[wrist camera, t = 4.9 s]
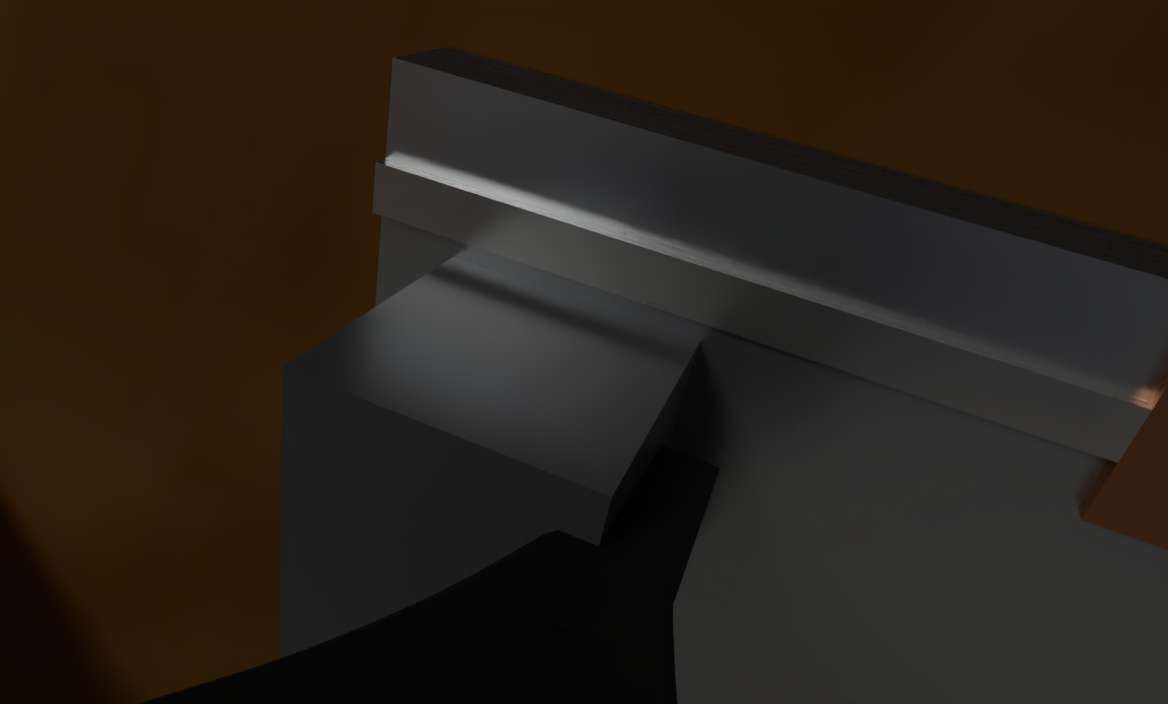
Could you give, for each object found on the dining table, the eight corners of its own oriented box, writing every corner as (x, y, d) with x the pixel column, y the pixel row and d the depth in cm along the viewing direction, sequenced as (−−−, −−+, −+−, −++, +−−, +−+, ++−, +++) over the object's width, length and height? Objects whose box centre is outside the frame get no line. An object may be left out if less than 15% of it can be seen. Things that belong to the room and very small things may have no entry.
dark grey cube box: (700, 341, 9) (612, 497, 6) (622, 602, 11) (531, 803, 8) (452, 256, 9) (281, 367, 7) (421, 518, 11) (280, 678, 9)
